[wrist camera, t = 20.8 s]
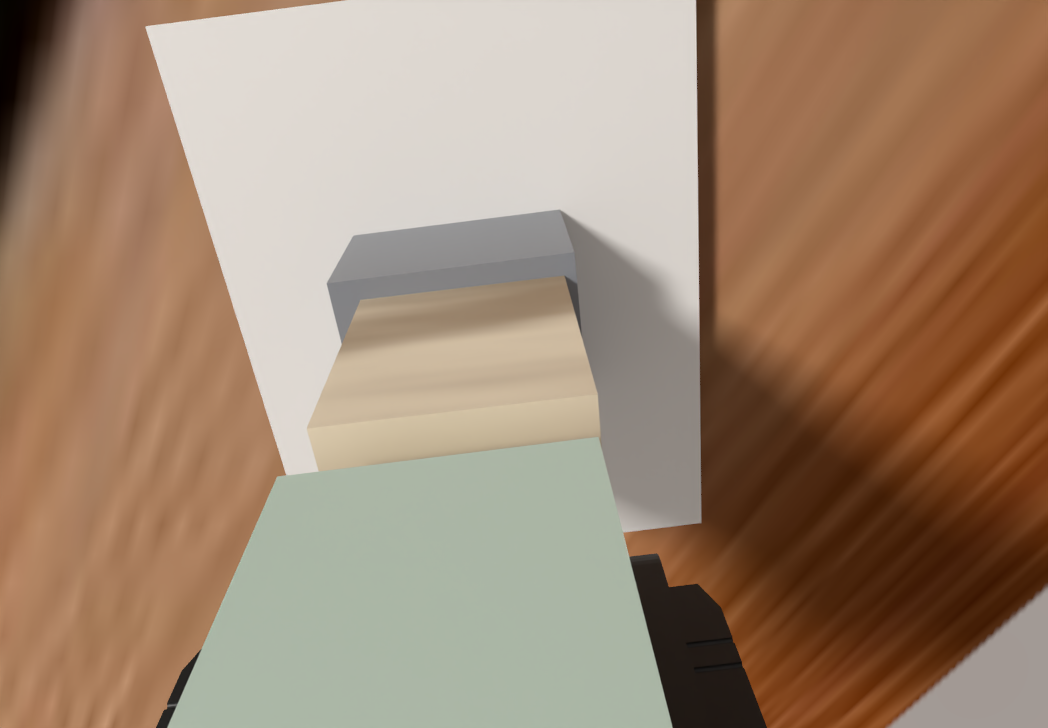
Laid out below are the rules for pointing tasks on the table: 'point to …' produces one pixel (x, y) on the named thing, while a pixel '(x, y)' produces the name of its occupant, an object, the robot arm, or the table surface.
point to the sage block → (434, 602)
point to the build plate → (459, 193)
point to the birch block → (456, 376)
